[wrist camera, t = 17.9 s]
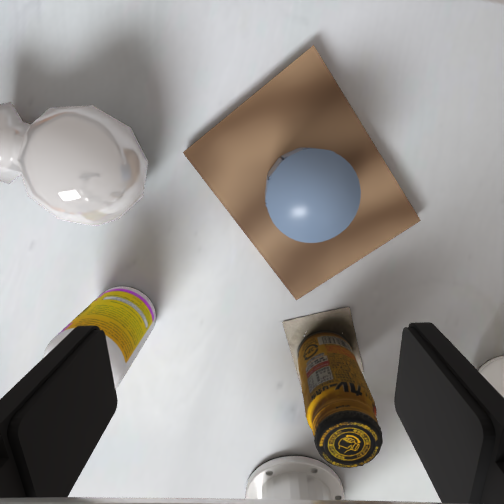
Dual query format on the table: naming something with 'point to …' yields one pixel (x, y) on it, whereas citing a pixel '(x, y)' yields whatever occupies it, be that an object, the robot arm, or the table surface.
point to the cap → (312, 194)
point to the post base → (288, 139)
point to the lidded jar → (494, 373)
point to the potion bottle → (74, 162)
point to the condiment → (334, 387)
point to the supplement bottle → (117, 325)
